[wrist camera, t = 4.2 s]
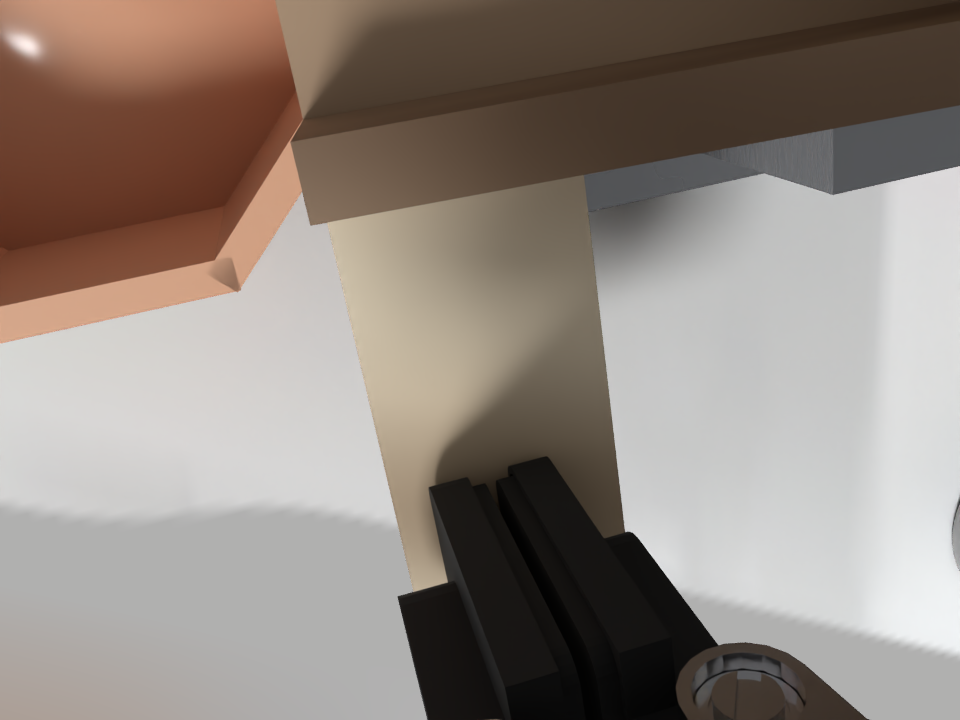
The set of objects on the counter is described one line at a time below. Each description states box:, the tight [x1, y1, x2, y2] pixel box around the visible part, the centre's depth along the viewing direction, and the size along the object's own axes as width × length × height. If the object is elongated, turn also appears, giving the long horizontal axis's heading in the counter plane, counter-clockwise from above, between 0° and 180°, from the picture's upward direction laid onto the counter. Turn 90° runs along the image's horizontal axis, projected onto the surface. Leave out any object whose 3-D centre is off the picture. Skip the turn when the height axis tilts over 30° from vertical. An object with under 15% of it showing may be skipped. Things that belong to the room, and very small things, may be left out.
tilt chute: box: [275, 0, 960, 592], centre depth 11 cm, size 15×14×4 cm
